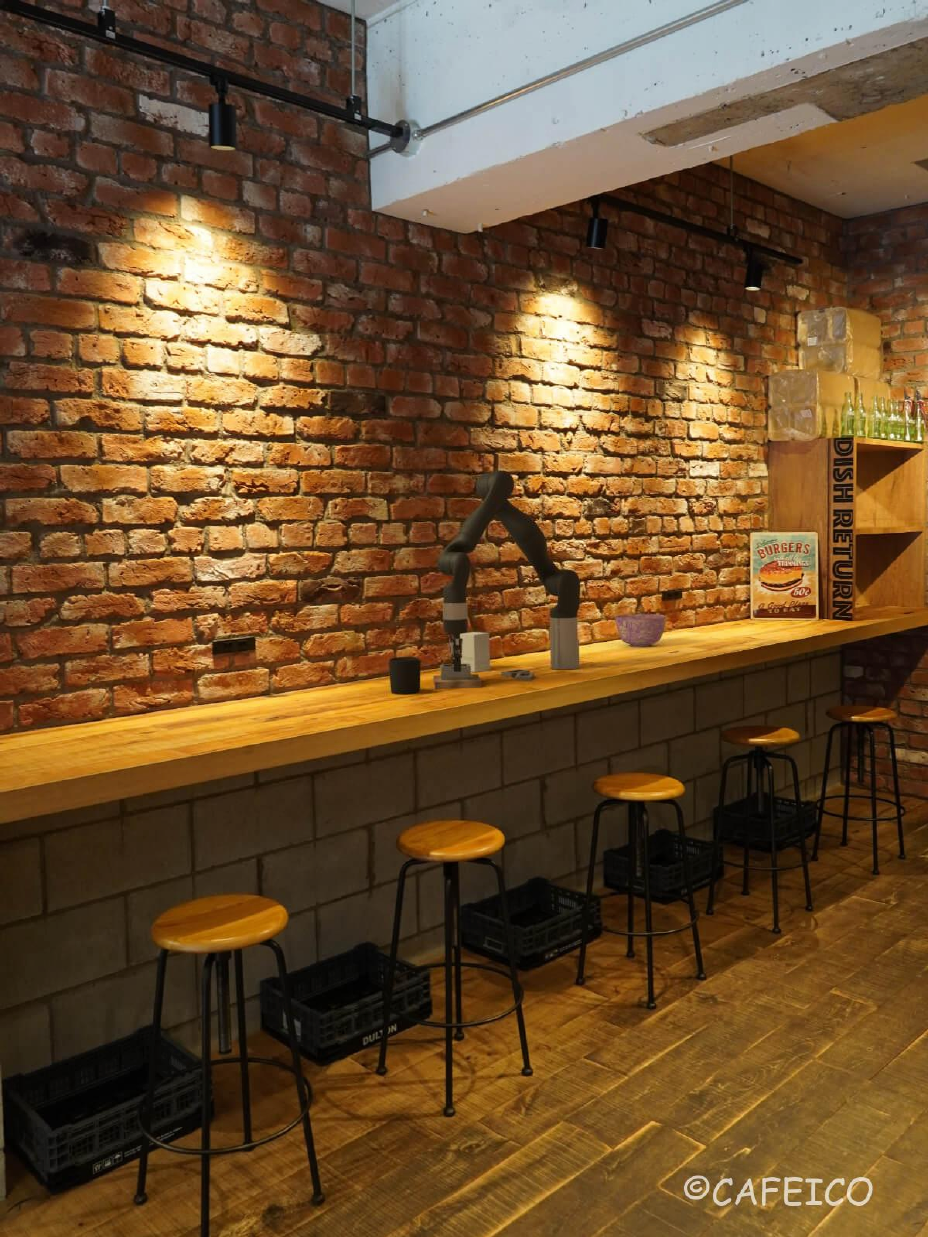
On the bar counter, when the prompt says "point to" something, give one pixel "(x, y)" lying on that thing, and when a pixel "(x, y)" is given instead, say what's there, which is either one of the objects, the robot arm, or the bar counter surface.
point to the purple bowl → (640, 629)
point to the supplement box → (476, 651)
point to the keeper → (457, 682)
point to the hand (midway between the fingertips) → (456, 669)
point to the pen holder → (404, 675)
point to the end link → (449, 673)
